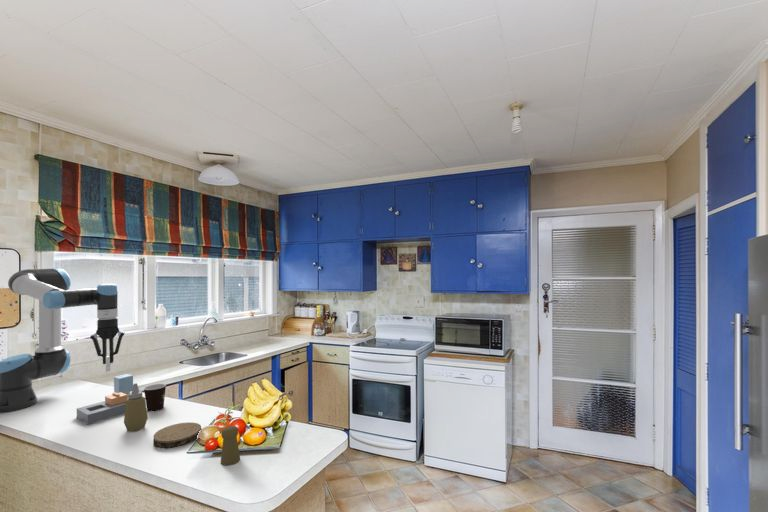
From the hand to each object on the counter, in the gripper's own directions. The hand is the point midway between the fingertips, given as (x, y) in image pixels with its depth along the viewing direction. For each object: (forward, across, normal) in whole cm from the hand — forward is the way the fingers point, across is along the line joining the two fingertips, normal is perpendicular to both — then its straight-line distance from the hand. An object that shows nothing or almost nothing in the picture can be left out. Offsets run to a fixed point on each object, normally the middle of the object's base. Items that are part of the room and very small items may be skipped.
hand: (108, 370), depth 176 cm
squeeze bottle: (+18, +13, -30) cm, 38 cm away
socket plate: (+18, 0, -4) cm, 19 cm away
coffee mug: (+18, +20, -8) cm, 28 cm away
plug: (+18, +4, +14) cm, 23 cm away
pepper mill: (+18, +43, -76) cm, 90 cm away
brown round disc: (+18, +28, -48) cm, 59 cm away
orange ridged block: (+14, +3, -3) cm, 15 cm away
